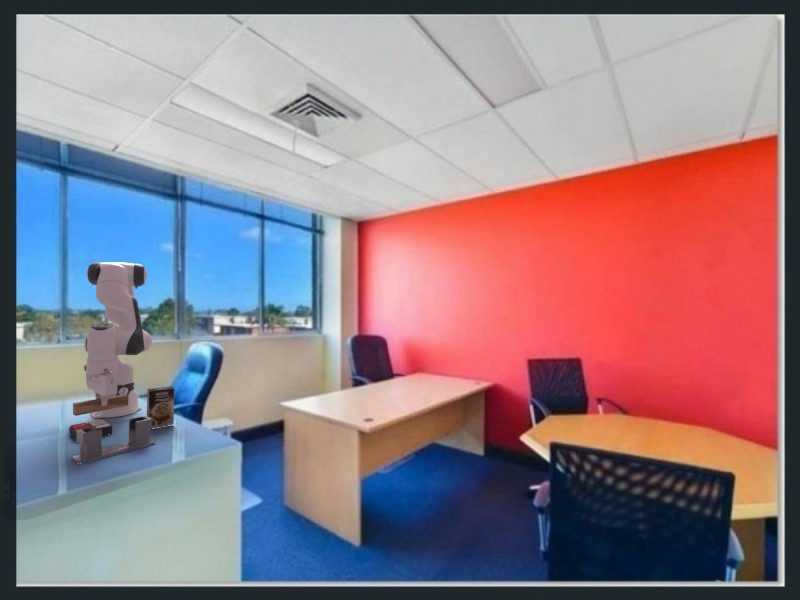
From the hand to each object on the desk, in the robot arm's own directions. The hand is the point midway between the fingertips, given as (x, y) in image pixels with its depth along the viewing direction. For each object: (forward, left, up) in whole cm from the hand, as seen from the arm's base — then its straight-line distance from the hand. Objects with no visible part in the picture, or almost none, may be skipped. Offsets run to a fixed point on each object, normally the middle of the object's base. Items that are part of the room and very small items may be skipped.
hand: (101, 404), depth 140 cm
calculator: (-14, +1, -15) cm, 21 cm away
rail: (0, 0, -2) cm, 2 cm away
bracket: (+16, 0, -14) cm, 21 cm away
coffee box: (-1, +21, -14) cm, 25 cm away
